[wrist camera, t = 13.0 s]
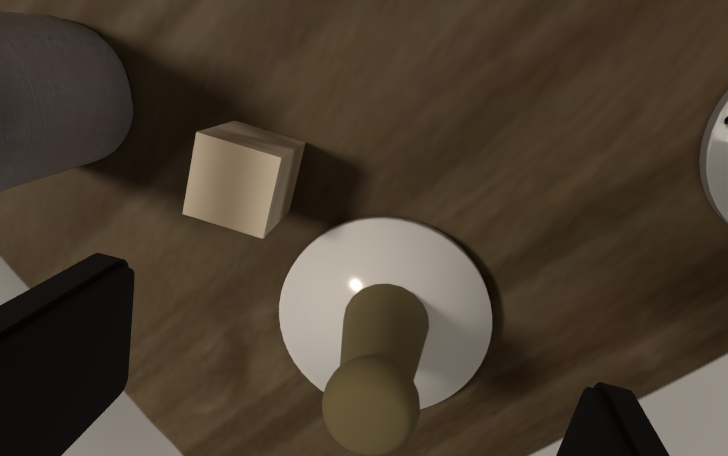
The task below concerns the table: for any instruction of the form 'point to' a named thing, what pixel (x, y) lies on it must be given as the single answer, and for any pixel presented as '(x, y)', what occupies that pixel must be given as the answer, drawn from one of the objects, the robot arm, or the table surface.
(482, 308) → the plate
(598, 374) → the table surface
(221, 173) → the beech block
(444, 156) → the table surface
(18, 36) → the pillar candle
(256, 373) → the table surface
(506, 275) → the table surface
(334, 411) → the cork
